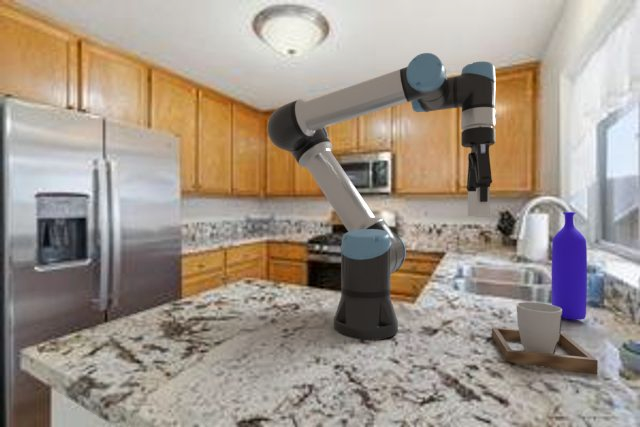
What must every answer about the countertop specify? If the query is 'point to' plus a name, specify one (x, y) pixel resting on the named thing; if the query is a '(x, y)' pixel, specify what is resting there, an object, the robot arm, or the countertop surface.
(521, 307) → the cup
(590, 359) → the tray
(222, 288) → the countertop surface
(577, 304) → the bottle
